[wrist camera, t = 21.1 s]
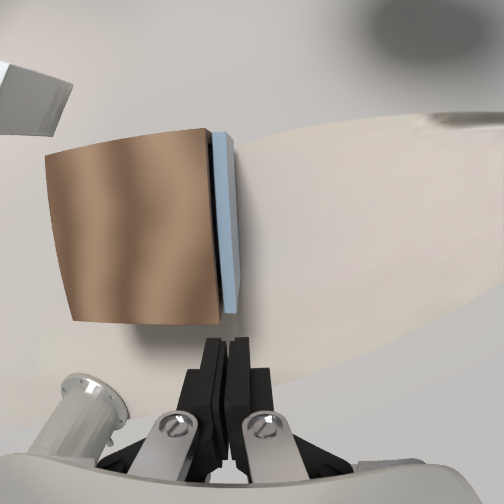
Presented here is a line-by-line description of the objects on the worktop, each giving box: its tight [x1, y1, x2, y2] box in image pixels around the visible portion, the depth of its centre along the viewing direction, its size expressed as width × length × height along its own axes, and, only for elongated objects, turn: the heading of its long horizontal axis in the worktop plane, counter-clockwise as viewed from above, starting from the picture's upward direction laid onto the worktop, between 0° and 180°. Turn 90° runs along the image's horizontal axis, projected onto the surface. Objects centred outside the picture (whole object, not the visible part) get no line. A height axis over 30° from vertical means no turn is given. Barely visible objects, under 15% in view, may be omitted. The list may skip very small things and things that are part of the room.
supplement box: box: [0, 61, 73, 137], centre depth 23 cm, size 7×7×13 cm
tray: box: [208, 132, 241, 313], centre depth 28 cm, size 14×15×9 cm
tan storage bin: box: [45, 128, 224, 325], centre depth 28 cm, size 14×15×12 cm
